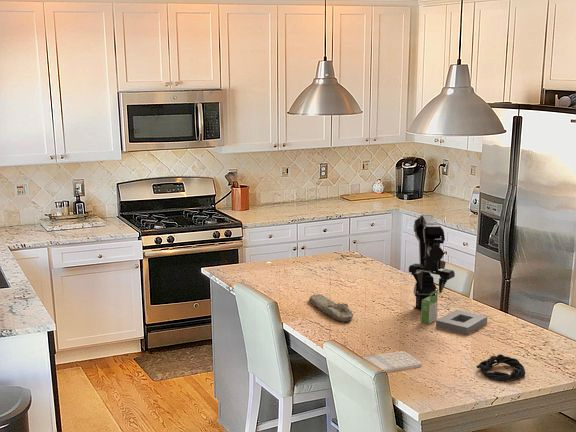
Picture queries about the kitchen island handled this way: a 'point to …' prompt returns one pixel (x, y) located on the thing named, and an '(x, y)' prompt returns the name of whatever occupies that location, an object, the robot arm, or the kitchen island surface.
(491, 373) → the cable
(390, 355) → the calculator
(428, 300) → the ink box
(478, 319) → the pocket plate
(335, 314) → the long grey stone
